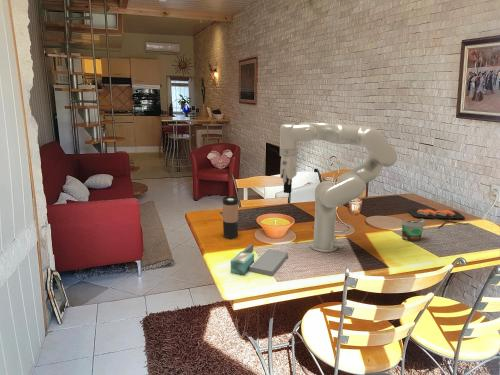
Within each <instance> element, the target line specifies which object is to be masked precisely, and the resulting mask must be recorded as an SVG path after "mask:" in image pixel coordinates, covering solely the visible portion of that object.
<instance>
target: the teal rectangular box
mask: <svg viewBox="0 0 500 375" xmlns="http://www.w3.org/2000/svg"><path fill="white" fill-rule="evenodd" d="M242 251H243V250H242ZM242 251H239V253H237V255H235V256H234V257H233V258H232V259H231V260H230V273H234V274H238V275H243V276H244V275H246V274H248V272H250V271H249V267H250V266H251V265H252V264H253V263H254V262H255V253H252V252H251V253H247V252H242Z"/></svg>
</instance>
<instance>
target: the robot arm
mask: <svg viewBox="0 0 500 375" xmlns="http://www.w3.org/2000/svg"><path fill="white" fill-rule="evenodd" d="M313 140H318V141H324V142H329V143H331V144H337V145H352V146H364V148H366V150H367V151H368V156H367V159H366V160H365V161H364V162H363V163H362V164H360V165H358V166H356V167H354V168H352V169H350V170H348V171H346V172H343V173H342V174H340V175H339V177H338V179H337V183H336V184H334V183H332V181H328V180H324V181H320V182H318V184H316V187H315V189H314V227H313V240H312V241H311V242H310V244H309V247H310V248H311V249H312V250H314V251H316V252H320V253H332V252H334V251H336V250H338V248H344V243H343V242H342V241H339V240H337V238H336V237H335V233H336V220H337V208H339V207H341V206H343V205H346V204H348V203H350V202H352V201H353V200H356V199H358V198H360V197H361V196H362V195H363V194H364V192H365V190H366V185H367V184H369V183H370V182H372V181H374V180H375V179H376V178H377V177H379V175H380V174H381V173H382V170H383V168H389V167H391V166H393V165H395V164H396V162H397V160H398V153H397V151H396V149H395V148H394V147H393V146H392V144H390V143H389V141H388V140H387V139H386V138H385V136H383V135H382V133H381V132H380V131H379V130H378V129H377V128H374V127H372V126H368V125H359V124H357V125H356V124H341V123H340V124H339V123H323V122H322V123H321V122H320V123H319V122H309V121H308V122H304V121H302V122H300V123H299V124H294V123H283V124H281V125H280V127H279V157H281V158H280V168H279V169H280V171H279V172H280V173H279V174H280V178H281V179H282V183H283V193H284V194H291V193H292V191H293V190H292V186H293V184H292V183H293V178H295V177H296V176H297V173H298V172H297V169H298V168H297V157H298V156H297V155H298V141H300V142H307V143H308V142H312V141H313Z"/></svg>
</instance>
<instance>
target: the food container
mask: <svg viewBox="0 0 500 375" xmlns="http://www.w3.org/2000/svg"><path fill="white" fill-rule="evenodd" d="M400 225H401V232H402V233H401V240H403V241H405V242H412V243H414V242H415V243H417V242H420V241H421V239H422V234H423V231H424V227H425V226H426V221H425V219H424V218H421V219H419V220H413V219H412V220H408V221H406V220H401V223H400Z"/></svg>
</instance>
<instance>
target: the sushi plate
mask: <svg viewBox="0 0 500 375" xmlns="http://www.w3.org/2000/svg"><path fill="white" fill-rule="evenodd" d="M407 211H408V212H409V214H410V215H411V216H413V217H415V218H422V219H424V218H426V219H428V218H429V219H434V220H439V221H444V222H443V223H442V224H441V225H439V226H438V227H437V229H440V228H442V227H443V226H444V225H445V224H446V223H451V224H452V223H453V224H457V225H464V226H469V224H468V223H463V222H456V221H452V220H453V219H455V220H457V219H458V220H460V219H461V220H463V219H465V216H464V215H463V214H461V213H460V212H458V211H457V210H449V209H429V208H427V209H421V208H420V209H418V208H411V209H410V208H409V209H408V210H407ZM451 219H452V220H451Z"/></svg>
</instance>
